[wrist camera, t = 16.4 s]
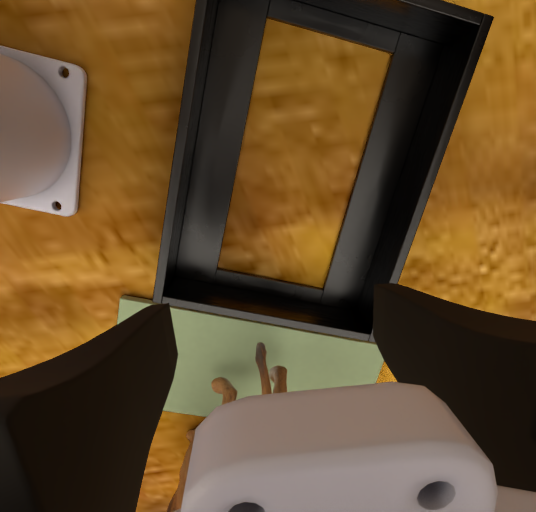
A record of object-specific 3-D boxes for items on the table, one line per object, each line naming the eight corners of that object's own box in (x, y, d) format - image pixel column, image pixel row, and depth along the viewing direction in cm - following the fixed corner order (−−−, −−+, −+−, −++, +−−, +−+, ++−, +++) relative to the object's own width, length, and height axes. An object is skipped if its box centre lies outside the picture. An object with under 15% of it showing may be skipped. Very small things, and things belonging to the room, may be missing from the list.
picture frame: (165, 280, 22) (151, 302, 19) (214, -33, 17) (206, -75, 14) (359, 317, 23) (376, 343, 20) (453, 38, 19) (494, 16, 15)
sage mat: (110, 397, 24) (107, 403, 24) (123, 294, 22) (119, 298, 21) (352, 432, 26) (355, 438, 26) (386, 342, 24) (389, 347, 23)
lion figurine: (241, 470, 28) (231, 631, 20) (176, 460, 27) (139, 623, 19) (300, 343, 21) (320, 516, 13) (214, 324, 20) (180, 497, 12)
